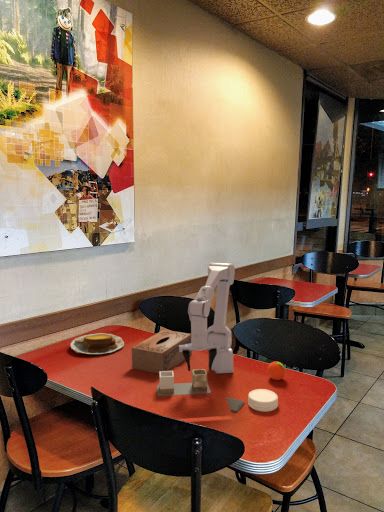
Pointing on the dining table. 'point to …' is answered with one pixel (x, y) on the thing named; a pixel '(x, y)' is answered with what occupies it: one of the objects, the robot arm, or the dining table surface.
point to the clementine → (276, 370)
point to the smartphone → (234, 404)
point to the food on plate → (97, 343)
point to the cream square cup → (166, 381)
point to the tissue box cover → (160, 351)
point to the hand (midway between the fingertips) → (199, 369)
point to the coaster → (263, 400)
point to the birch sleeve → (199, 380)
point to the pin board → (182, 390)
